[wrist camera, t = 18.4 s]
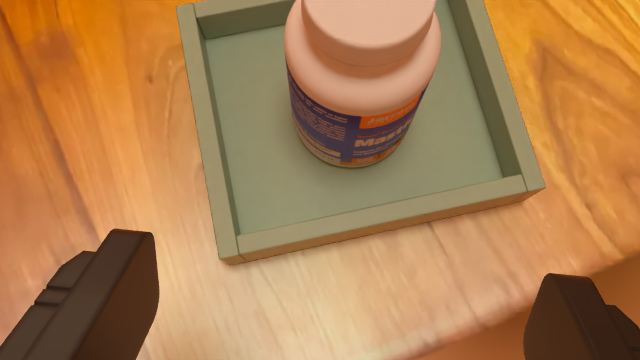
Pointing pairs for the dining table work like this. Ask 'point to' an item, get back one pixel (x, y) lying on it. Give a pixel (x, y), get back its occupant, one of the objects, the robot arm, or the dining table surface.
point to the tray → (335, 181)
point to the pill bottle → (358, 73)
